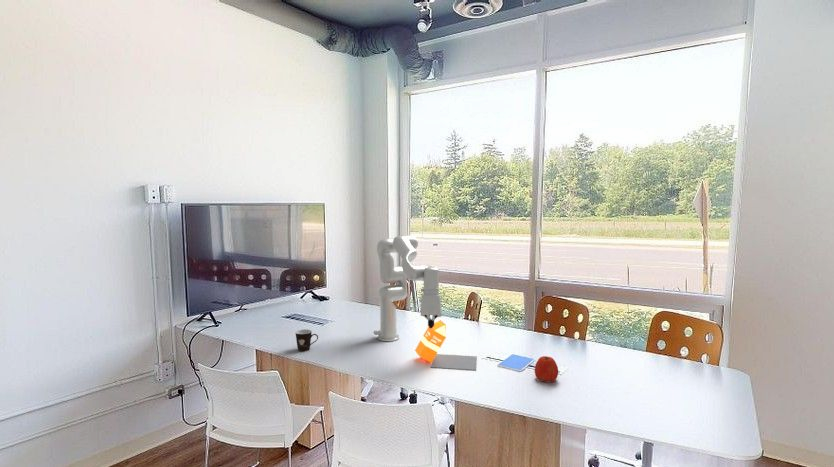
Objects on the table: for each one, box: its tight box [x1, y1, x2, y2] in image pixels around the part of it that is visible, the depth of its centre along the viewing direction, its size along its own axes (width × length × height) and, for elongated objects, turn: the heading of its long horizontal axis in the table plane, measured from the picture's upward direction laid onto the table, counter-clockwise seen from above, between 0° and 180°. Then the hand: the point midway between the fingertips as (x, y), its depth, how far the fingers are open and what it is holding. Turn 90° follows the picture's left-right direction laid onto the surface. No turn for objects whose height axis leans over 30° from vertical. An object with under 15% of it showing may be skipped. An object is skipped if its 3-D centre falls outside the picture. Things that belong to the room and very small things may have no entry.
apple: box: [534, 355, 559, 383], centre depth 185 cm, size 10×10×10 cm
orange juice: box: [414, 320, 447, 364], centre depth 209 cm, size 8×9×20 cm
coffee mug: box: [295, 328, 319, 353], centre depth 223 cm, size 12×9×10 cm
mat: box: [430, 353, 478, 372], centre depth 205 cm, size 22×18×1 cm
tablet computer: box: [496, 354, 536, 373], centre depth 204 cm, size 19×13×1 cm, turn 144°
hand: (431, 327), depth 206 cm, fingers closed
